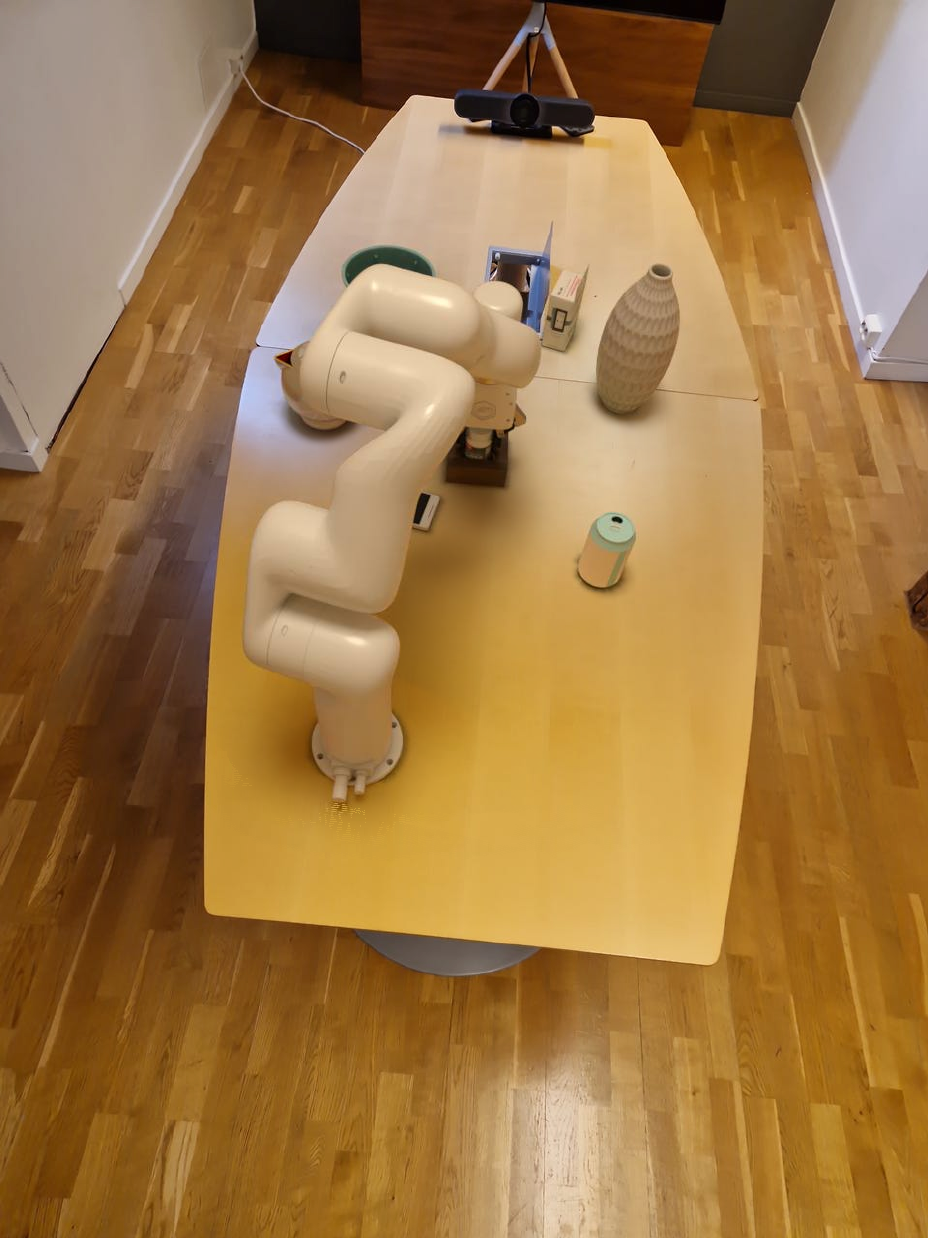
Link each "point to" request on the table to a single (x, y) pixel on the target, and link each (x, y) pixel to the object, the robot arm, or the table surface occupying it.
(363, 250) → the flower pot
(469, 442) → the pill bottle
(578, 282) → the ink box
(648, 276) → the vase
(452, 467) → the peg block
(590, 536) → the can
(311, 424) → the teapot
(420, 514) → the smartphone
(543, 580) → the table surface
